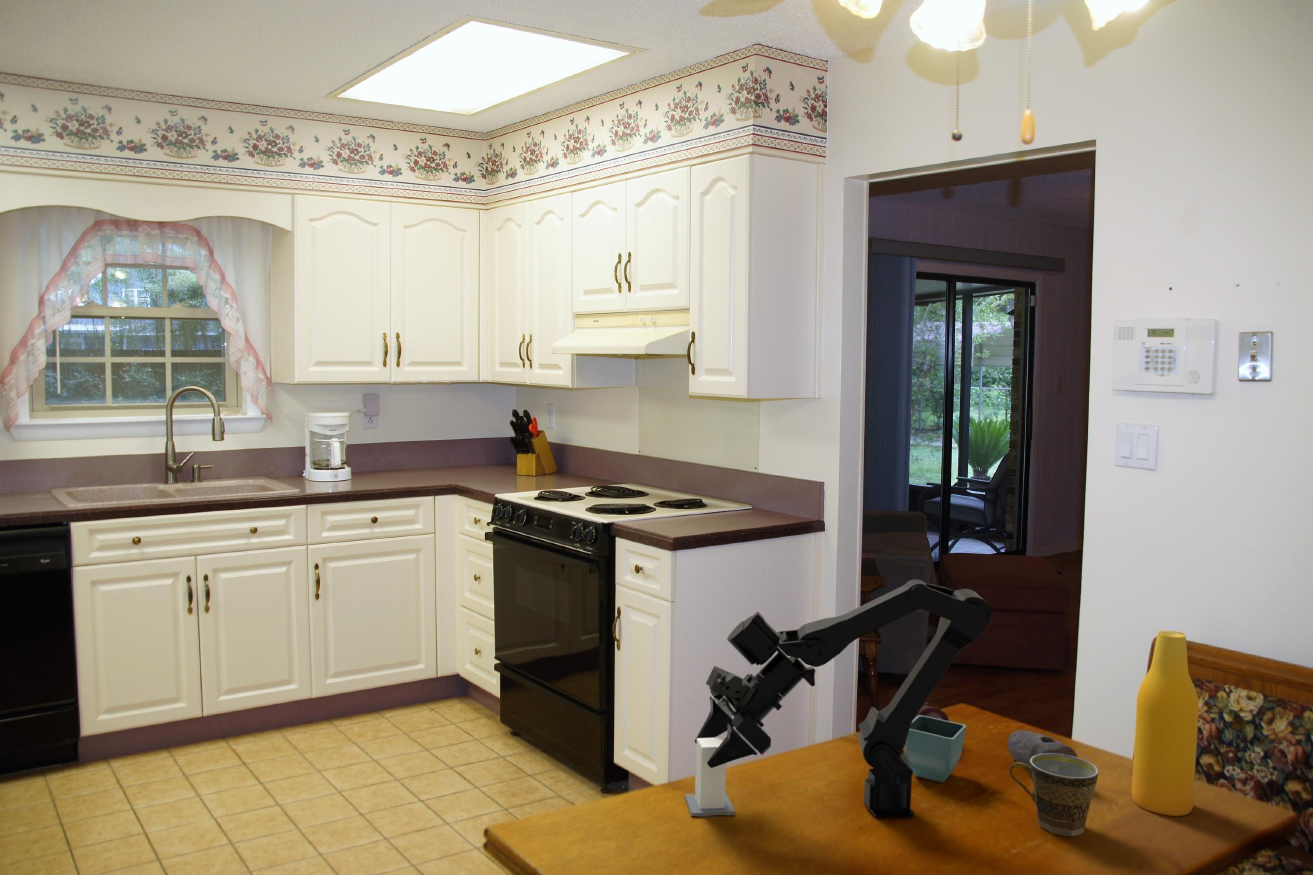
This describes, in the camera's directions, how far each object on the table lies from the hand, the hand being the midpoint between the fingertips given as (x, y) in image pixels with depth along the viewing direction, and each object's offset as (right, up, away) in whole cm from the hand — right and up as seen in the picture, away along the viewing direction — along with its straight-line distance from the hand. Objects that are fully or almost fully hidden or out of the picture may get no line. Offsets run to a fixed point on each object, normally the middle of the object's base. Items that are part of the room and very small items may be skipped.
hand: (702, 754), depth 158 cm
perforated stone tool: (+61, -9, +19) cm, 65 cm away
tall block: (+1, -8, +1) cm, 8 cm away
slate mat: (+1, -9, +1) cm, 9 cm away
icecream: (+46, -8, +33) cm, 57 cm away
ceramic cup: (+55, -11, -3) cm, 56 cm away
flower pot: (+42, -9, +16) cm, 45 cm away
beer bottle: (+77, -11, +6) cm, 78 cm away
